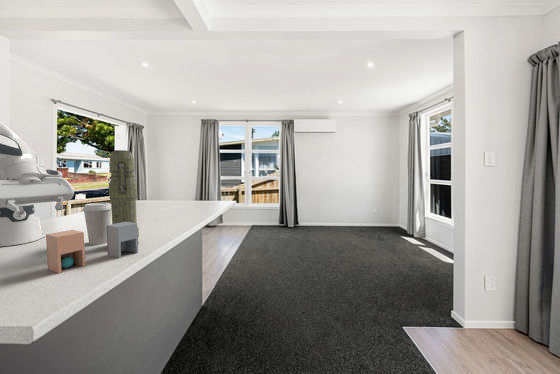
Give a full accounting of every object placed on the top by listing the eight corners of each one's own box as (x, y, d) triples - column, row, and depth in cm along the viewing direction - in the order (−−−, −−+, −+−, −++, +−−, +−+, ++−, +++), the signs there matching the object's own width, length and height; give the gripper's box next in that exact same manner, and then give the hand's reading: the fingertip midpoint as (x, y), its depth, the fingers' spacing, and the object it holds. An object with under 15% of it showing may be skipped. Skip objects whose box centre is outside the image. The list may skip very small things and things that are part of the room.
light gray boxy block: (107, 255, 87) (106, 225, 86) (126, 249, 92) (125, 221, 91) (119, 258, 83) (117, 227, 83) (138, 252, 89) (137, 223, 88)
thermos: (136, 239, 106) (133, 152, 104) (141, 246, 96) (137, 150, 94) (110, 243, 101) (106, 151, 98) (112, 250, 91) (108, 149, 89)
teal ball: (57, 268, 75) (56, 257, 75) (70, 264, 78) (70, 254, 78) (63, 270, 73) (62, 259, 73) (76, 266, 76) (75, 255, 76)
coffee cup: (99, 246, 96) (97, 205, 95) (77, 245, 98) (75, 205, 97) (119, 239, 105) (118, 202, 104) (99, 238, 107) (98, 202, 106)
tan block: (47, 269, 74) (45, 234, 74) (74, 262, 80) (72, 229, 79) (58, 273, 71) (56, 237, 71) (85, 265, 77) (83, 232, 76)
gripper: (-21, 171, 74) (-6, 208, 70) (66, 171, 92) (82, 201, 87) (-24, 187, 76) (-11, 223, 72) (61, 184, 94) (76, 213, 90)
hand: (41, 211), depth 80 cm, fingers open, 8 cm apart
